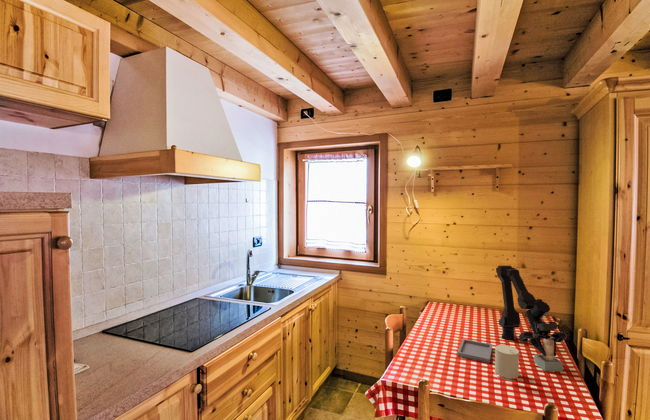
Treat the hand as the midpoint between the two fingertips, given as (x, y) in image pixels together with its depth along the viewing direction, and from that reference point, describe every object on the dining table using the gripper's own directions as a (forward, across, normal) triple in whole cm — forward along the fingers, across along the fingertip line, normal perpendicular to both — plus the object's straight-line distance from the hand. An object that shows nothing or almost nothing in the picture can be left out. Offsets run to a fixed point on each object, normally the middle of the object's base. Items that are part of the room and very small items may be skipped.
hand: (550, 356), depth 147 cm
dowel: (+3, 0, +5) cm, 6 cm away
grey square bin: (+4, 0, +6) cm, 7 cm away
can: (+8, -21, +2) cm, 23 cm away
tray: (-7, -26, +17) cm, 32 cm away
